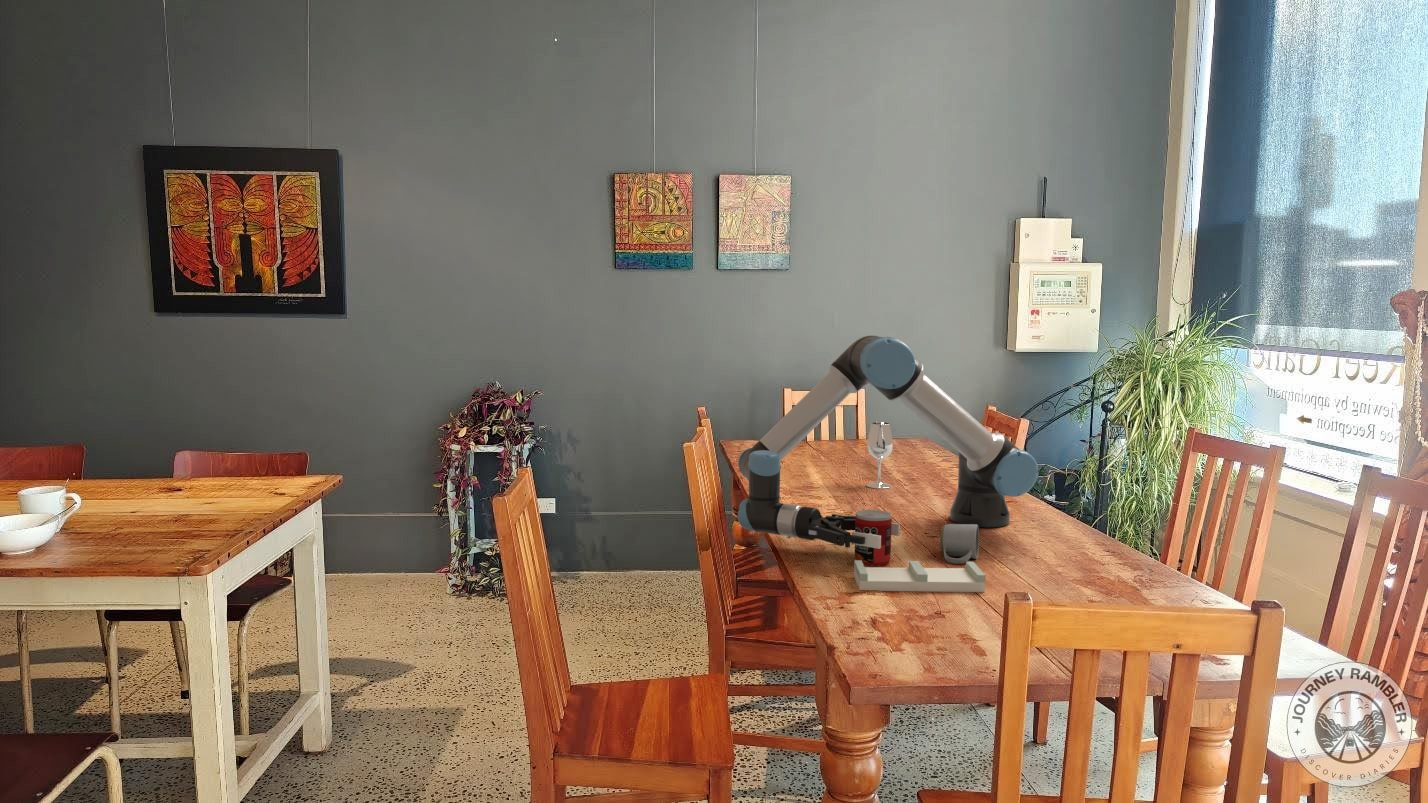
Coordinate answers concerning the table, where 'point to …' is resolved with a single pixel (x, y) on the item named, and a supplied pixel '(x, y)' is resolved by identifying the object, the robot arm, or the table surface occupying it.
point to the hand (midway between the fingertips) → (890, 535)
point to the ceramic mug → (959, 542)
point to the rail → (911, 584)
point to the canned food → (875, 525)
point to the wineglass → (880, 448)
